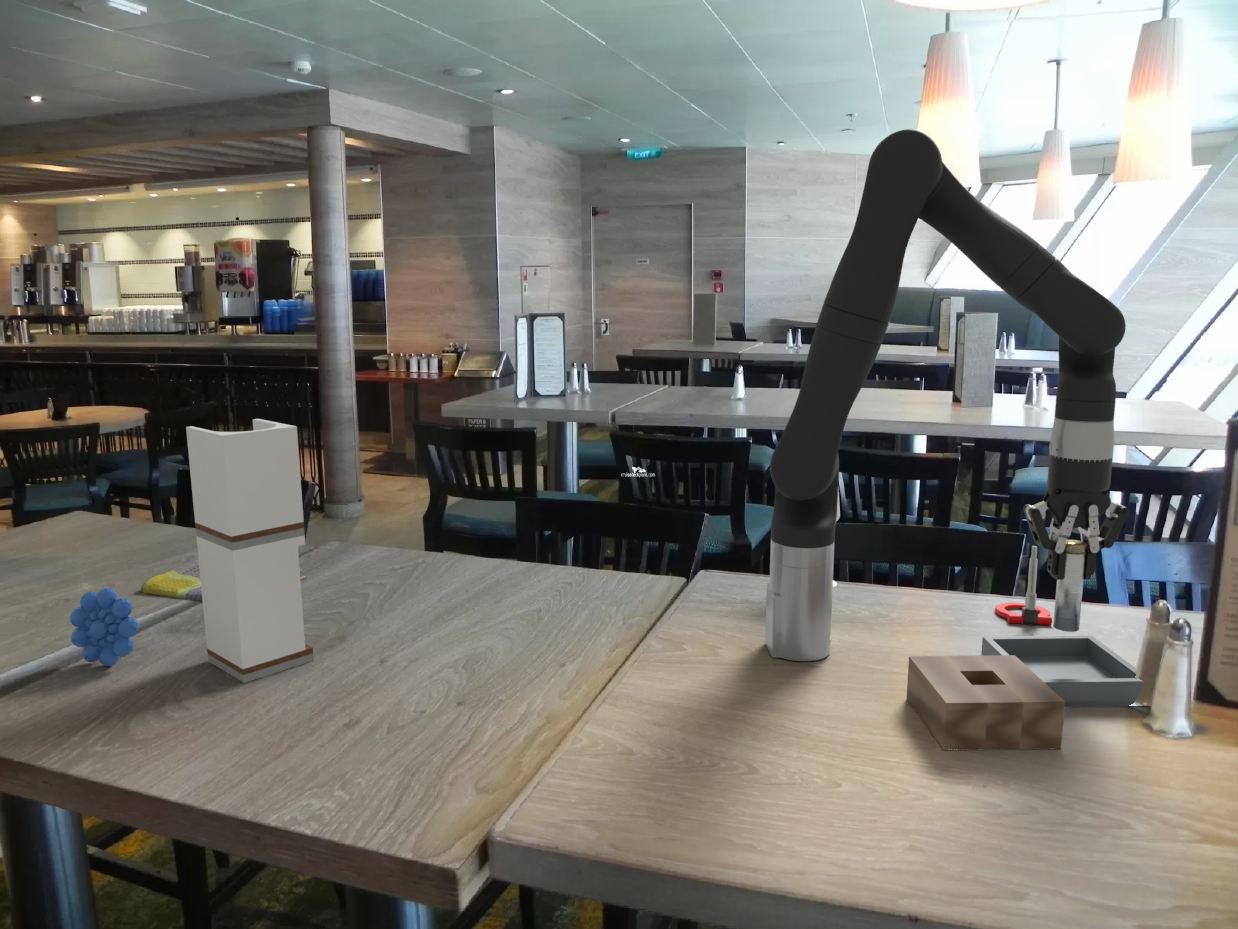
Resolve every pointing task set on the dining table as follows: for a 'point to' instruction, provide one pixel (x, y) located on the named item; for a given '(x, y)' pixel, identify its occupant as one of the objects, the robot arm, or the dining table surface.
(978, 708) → the block
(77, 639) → the blue beaded flower
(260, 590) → the white open tower
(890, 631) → the dining table surface
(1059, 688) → the tray
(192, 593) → the dish towel
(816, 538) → the robot arm
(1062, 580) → the pin
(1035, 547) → the tow hook
